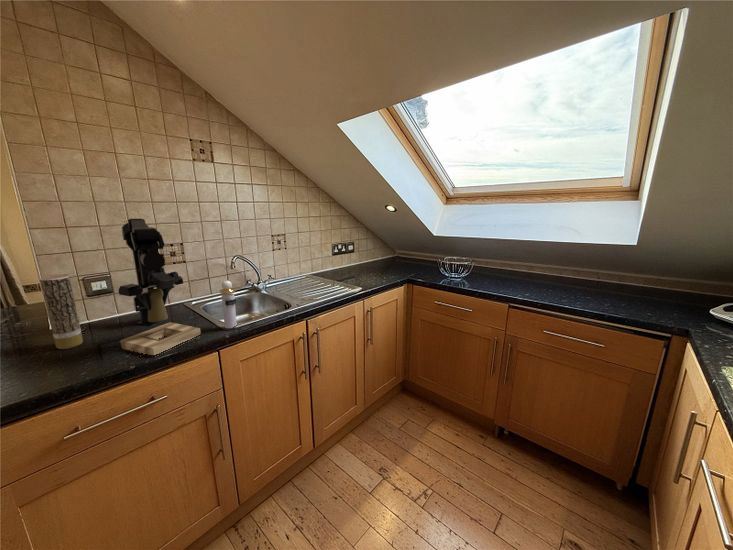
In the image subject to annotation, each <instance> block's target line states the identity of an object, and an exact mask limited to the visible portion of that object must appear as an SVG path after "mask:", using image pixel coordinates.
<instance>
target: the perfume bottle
mask: <svg viewBox="0 0 733 550" xmlns="http://www.w3.org/2000/svg"><path fill="white" fill-rule="evenodd" d="M221 287H222V289H220V290H219V293H220V294H221V301H222V303H221V304H222V313H223V314H222V315H223V324H224V328H225V329H233V327H234V326H236V325H237V326H238V324H237V313H236V312H237V311H236V305H237V299H236V298H235V293H234V292H236V288H233V283H232V282H231V281H230V280H224V281H223V282H222V283H221ZM237 326H236V327H237ZM234 328H235V327H234Z"/></svg>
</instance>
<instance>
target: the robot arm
mask: <svg viewBox="0 0 733 550" xmlns="http://www.w3.org/2000/svg"><path fill="white" fill-rule="evenodd" d="M121 234H122V239H123V241H125V245H126V246H127V247H128V248H129V249H130V250H131V251H132V256H133V257H132V258H133V262H134V268H135V274H136V280H137V284H135V283H129V284H125V285H120V286H119V288H118V294H119V295H120V296H126V297H133V306H134V311H135V312H136V313H137V312H139V317H140V319H139V320H140V321H137V322H136V324H138V325H143V326H150V325H153V324H156V323H157V322H148V310H149V311H150V310H151V302H150V295H151V292H148V290H151V289H161V290H162V291H163V293H164V294H163V297H162V299H163V302H164V305H166V302H167V299H168V295H169V292H170V291H171V290H172V289H175V286H179V285H183V284H184V279H183V277H182V276H180V275H179V273H178V272H177V271H171V272H168V273H167V272H165V268H164V266H165V262H166V259H165V257H164V256H163V255H162V253H160V252H159V251H160V250H164V246H165V242H164V238H163V236H162V233H160V231H158V230H157V228H155V227H150V226H149V224H146V220H145V219H144V218H129V219H128V218H127V222H126V223H125V224H124V225H123V226H121Z"/></svg>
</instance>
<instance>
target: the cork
mask: <svg viewBox="0 0 733 550" xmlns="http://www.w3.org/2000/svg"><path fill="white" fill-rule="evenodd" d="M148 292H151V295H150V302H151V310H150V311H149V310H148V322H156V323H158V322H163V321H165V320H168V319H169V315H168V312H167V309H166V306H165V305H166V304H165V305H164V302H163V299H162V297H163V294H164V293H163V291H162V290H161V289H157V288H154V289H151V290H148Z"/></svg>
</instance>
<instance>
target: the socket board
mask: <svg viewBox="0 0 733 550" xmlns="http://www.w3.org/2000/svg"><path fill="white" fill-rule="evenodd" d="M201 333H202V332H201V328H200V327H195V326H190V325H186V324H180V323H176V322H175V323H174V322H167V323H165V324H162V325H158V326H156V327H154V328H153V327H152V328H151V329H149V330H146V331H143V332H140V333H137V334H134V335H132V336H129V337H126V338H124V339H120V346H121V349H123V350H126V351H129V350H130V351H129V352H133V351H134V353H137V352H138V353H137V354H141V353H143V354H142V355H145V354H148V355H147V356H149V355H156V354H159V353H161V352H163V351H165V350H168V349H170V348H172V347H174V346H176V345H178V344H180V343H182V342H185V341H187V340H190V339H192V338H194V337H196V336H198V335H200V334H201ZM201 335H202V334H201ZM164 336H165V337H164ZM159 338H160V339H159ZM194 339H195V338H194ZM192 340H193V339H192ZM190 341H191V340H190ZM170 350H171V349H170ZM168 351H169V350H168Z"/></svg>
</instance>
